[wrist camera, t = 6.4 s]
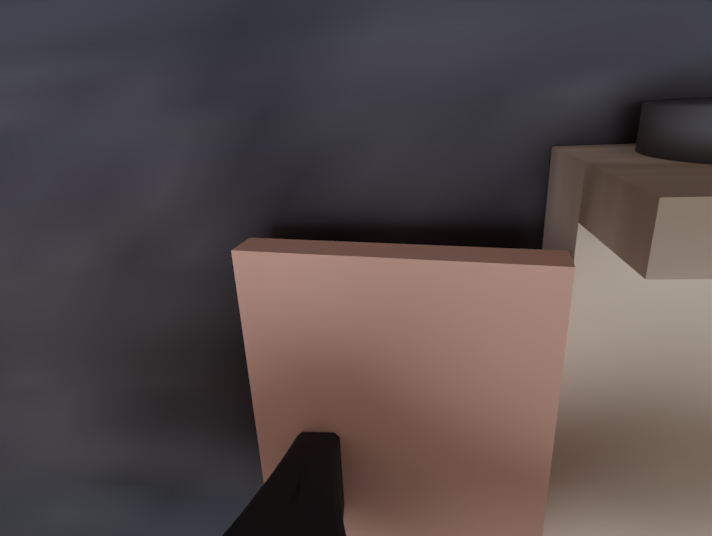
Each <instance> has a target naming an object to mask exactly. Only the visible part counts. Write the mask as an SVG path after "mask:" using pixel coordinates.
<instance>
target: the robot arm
mask: <svg viewBox="0 0 712 536" xmlns="http://www.w3.org/2000/svg"><path fill="white" fill-rule="evenodd" d="M343 518H344V491H343V476H342V462H341V447H340V437H339V436H338V435H337V434H336V433H334V432H301V433H300V434H299V435H298V436H297V437H296V438H295V440H294V442H293V443H292V445H291V446H290V448H289V449H288V451H287V452H286V454H285V455H284V457H283V458H282V460H281V461H280V462H279V464H278V465H277V467H276V468H275V470H274V471H273V472H272V474H271V475H270V477H269V478H268V479H267V481H266V482H265V483H264V485H263V486H262V487H261V489H260V490H259V491H258V492H257V494H256V495H255V496H254V498H253V499H252V500H251V502H250V503H249V504H248V506H247V507H246V508H245V509H244V511H243V512H242V513H241V514H240V516H239V517H238V518H237V519H236V520H235V521H234V523H233V524H232V525H231V526H230V527H229V529H228V530H227V531H226V532H225V533H224V534H223V536H346V533H345V528H344V522H343Z"/></svg>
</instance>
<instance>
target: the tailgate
mask: <svg viewBox="0 0 712 536" xmlns="http://www.w3.org/2000/svg"><path fill="white" fill-rule="evenodd" d="M231 253H232V261H233V268H234V275H235V282H236V289H237V296H238V303H239V310H240V317H241V324H242V332H243V339H244V346H245V353H246V360H247V367H248V374H249V381H250V388H251V396H252V403H253V410H254V417H255V424H256V431H257V438H258V445H259V452H260V459H261V467H262V474H263V481H264V483H265V482H266V481H267V479H268V478H269V477H270V475H271V474H272V472H273V471H274V470H275V468H276V467H277V465H278V464H279V462H280V461H281V460H282V458H283V457H284V455H285V454H286V452H287V451H288V449H289V448H290V446H291V445H292V443H293V442H294V440H295V438H296V437H297V436H298V435H299V434H300V433H301V432H334V433H336V434H337V435H338V436H339V437H340V447H341V462H342V476H343V491H344V518H343V522H344V528H345V533H346V536H543V528H544V519H545V511H546V503H547V495H548V487H549V478H550V470H551V462H552V454H553V446H554V437H555V429H556V421H557V413H558V405H559V397H560V388H561V380H562V372H563V364H564V356H565V347H566V339H567V331H568V323H569V315H570V306H571V298H572V290H573V282H574V274H575V265H574V263H573V260H572V258H571V255H570V252H569V251H564V250H540V249H515V248H491V247H466V246H442V245H418V244H393V243H369V242H344V241H320V240H295V239H271V238H249V239H247V240H246V241H244V242H243V243H241V244H240V245H238V246H237V247H235V248H234V249H232V250H231Z"/></svg>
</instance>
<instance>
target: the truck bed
mask: <svg viewBox="0 0 712 536" xmlns="http://www.w3.org/2000/svg"><path fill="white" fill-rule="evenodd" d="M542 250H564V251H569V252H570V255H571V258H572V260H573V263H574V265H575V274H574V282H573V290H572V298H571V306H570V315H569V323H568V331H567V339H566V347H565V356H564V364H563V372H562V380H561V388H560V397H559V405H558V413H557V421H556V429H555V437H554V446H553V454H552V462H551V470H550V478H549V487H548V495H547V503H546V511H545V519H544V528H543V536H712V98H685V99H668V100H655V101H647V102H643V103H642V107H641V114H640V120H639V127H638V133H637V140H636V144H606V145H574V146H552V150H551V160H550V171H549V181H548V192H547V202H546V213H545V223H544V234H543V244H542Z"/></svg>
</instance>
